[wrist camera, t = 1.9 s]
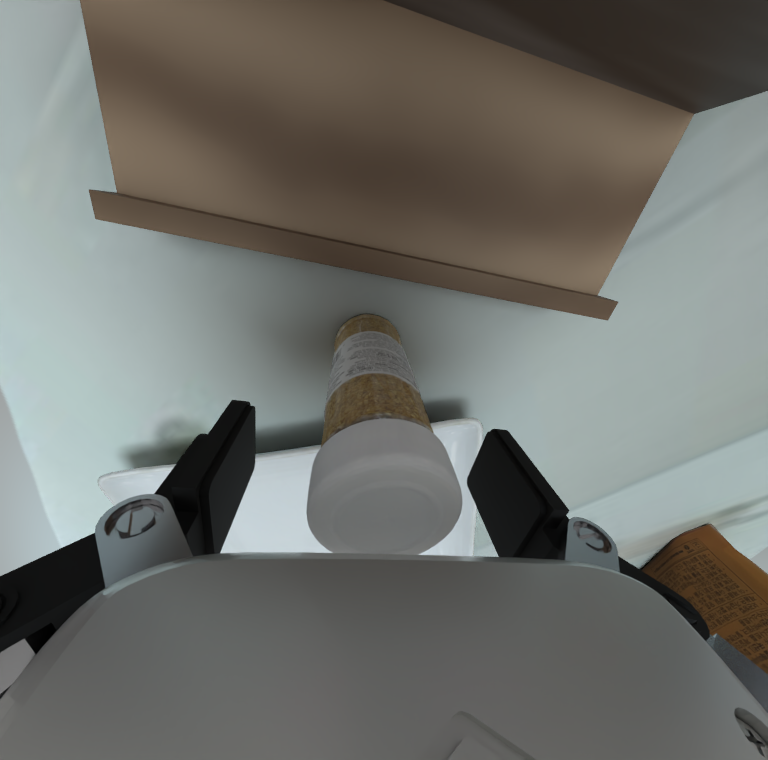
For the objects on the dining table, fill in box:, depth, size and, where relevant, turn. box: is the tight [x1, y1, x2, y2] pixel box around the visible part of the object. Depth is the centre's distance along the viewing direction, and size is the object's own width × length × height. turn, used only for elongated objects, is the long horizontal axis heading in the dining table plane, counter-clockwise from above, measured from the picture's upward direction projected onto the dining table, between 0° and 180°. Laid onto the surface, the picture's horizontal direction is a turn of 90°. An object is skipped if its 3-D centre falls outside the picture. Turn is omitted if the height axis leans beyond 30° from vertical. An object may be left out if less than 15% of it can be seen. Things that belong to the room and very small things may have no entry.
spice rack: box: [80, 0, 768, 320], centre depth 11 cm, size 11×24×10 cm, turn 79°
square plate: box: [98, 418, 483, 556], centre depth 28 cm, size 27×27×4 cm
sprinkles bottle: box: [306, 314, 462, 555], centre depth 14 cm, size 5×5×14 cm
